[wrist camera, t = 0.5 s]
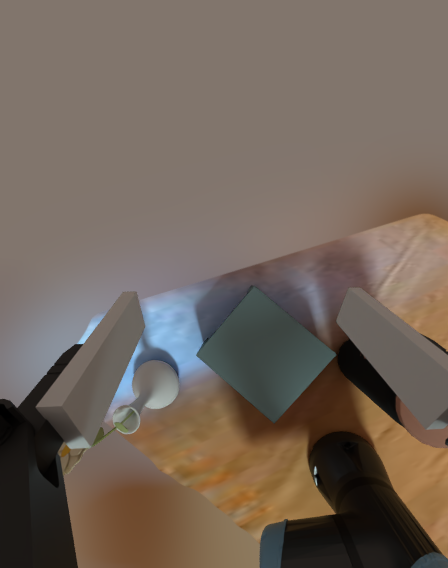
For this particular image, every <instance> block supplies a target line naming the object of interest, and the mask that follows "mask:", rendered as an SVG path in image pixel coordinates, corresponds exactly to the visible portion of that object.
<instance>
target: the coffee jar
mask: <svg viewBox="0 0 448 568" xmlns="http://www.w3.org/2000/svg"><path fill="white" fill-rule="evenodd" d="M338 364H339V367H340V370H341V371H342V373H343V374H344V375H345V377H346V378H348V379H349V380H350V381H351V382H352V383H353V384H354V385H355V386H356V387H358V388H359V389H360V390H361V391H362V392H363V393H364V394H365V395H367V396H368V397H369V398H370V399H371V400H372V401H373V402H374V403H376V404H377V405H378V406H379V407H380V408H381V409H382V410H383V411H385V412H386V413H387V414H388V415H389V416H390V417H391V418H392V419H394V420H395V421H396V422H397V423H399V424H400V425H401V426H403V427H404V428H405V429H406V430H407V431H408V432H409V433H410V434H411V435H412V436H413V437H415V438H416V439H417V440H419V441H420V442H422V443H424V444H427V445H430V446H432V447H435V448H448V446H447V445H445V440H446V439H447V438H448V425H447V426H446V427H445V428H444V429H429V430H425V428H424V427H423V426H422V425H421V424H420V422H419V421H418V420H417V419H416V418H415V416H414V415H413V414H412V413H411V412H410V410H409V409H408V408H407V407H406V406H405V404H404V403H403V402H402V401H401V399H400V398H399V397H398V396H397V395H396V393H395V392H394V391H393V390H392V389H391V387H390V386H389V385H388V384H387V383H386V381H385V380H384V379H383V378H382V377H381V375H380V374H379V373H378V372H377V371H376V369H375V368H374V367H373V366H372V365H371V363H370V362H369V361H368V360H367V359H366V357H365V356H364V355H363V354H362V353H361V351H360V350H359V349H358V348H357V347H356V345H355V344H354V343H353V342H352V341H351V339H349V340H348V341H346V342H345V343H344V344H343V345H342V347H341V348H340V351H339V354H338Z"/></svg>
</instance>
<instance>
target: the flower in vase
mask: <svg viewBox="0 0 448 568" xmlns="http://www.w3.org/2000/svg"><path fill="white" fill-rule="evenodd" d="M132 388H133V393H134V395H135V397H136V398H137V399H136V400H135V401H134V402H132V403H131V404H130V405H124V406H121V407H119V408H117V409H116V410H115V412H114V414H113V424H114V426H115V428H114V429H112V430H111V431H110V432H108V433H107V434H106V435H105V436H103V435H104V431H103V428H102V427H100V429H99V431H98V434H97V436H96V438H95V440H94V443H93V445H92V447H93V446H95V445H96V444H97V443H99V442H100V441H101V440H103V439H104V438H105V437H106V436H108V435H109V434H110V433H112V432H113V431H114V430H116V429H117V430H118V431H119V432H121V433H124V434H131V433H133V432H135V431H136V430H137V429H138V427H139V425H140V414H141V411H142V410H143V408H144V407H145V406H146V407H148V408H152V409H159V408H163V407H165V406H167V405H169V404H170V403H172V402H173V401H174V399H175V398H176V396H177V394H178V392H179V378H178V375H177V373H176V372H175V370H174V369H173V368H172V367H171V366H170V365H169V364H167V363H166V362H163V361H160V360H150V361H147V362H145V363H143V364H142V365H140V366H139V367H138V369H137V370H136V372H135V374H134V377H133V381H132ZM87 449H89V448H77V449H70V448H69V447H68V446H67V445H66V444H65V442H63V444H62V446H61V447H60V449H59V451H58V454H59V456H60V459H61V466H62V472H63V477H64V475H65V473H66V474H68V473H70V472H71V470H72V469H73V467H74V466H75V464H76V463H78V462H79V461H80V460H81V458H82V456H83V453H84V452H85V451H86V450H87Z"/></svg>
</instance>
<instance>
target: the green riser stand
mask: <svg viewBox="0 0 448 568" xmlns="http://www.w3.org/2000/svg"><path fill="white" fill-rule="evenodd" d="M248 291H249V293H248V294H247V295H246V296H245V297H244V298H243V300H242V301H241V302H240V303H239V304H238V306H237V307H236V308H235V309H234V310H233V311H232V313H231V314H230V315H229V316H228V317H227V319H226V320H225V321H224V322H223V323H222V324H221V326H220V327H219V328H218V329H217V330H216V332H215V333H214V334H213V335H212V336H211V337H210V339H208V338H207V339H206V340H205V342H204V343H203V344H202V346H201V348H200V350H199V351H198V353H197V355H196V356H197V357H199V358H200V359H201V360H202V361H203V362H204V363H205V364H207V365H208V366H209V367H210V368H211V369H212V370H213V371H215V372H216V373H217V374H218V375H219V376H220V377H221V378H223V379H224V380H225V381H226V382H227V383H228V384H229V385H231V386H232V387H233V388H234V389H235V390H236V391H237V392H239V393H240V394H241V395H242V396H243V397H244V398H245V399H247V400H248V401H249V402H250V403H251V404H252V405H253V406H255V407H256V408H257V409H258V410H259V411H260V412H261V413H263V414H264V415H265V416H266V417H267V418H268V419H269V420H271V421H272V422H273V423H275V422H276V421H277V420H278V419H279V418H280V417H281V416H282V415H283V413H284V412H285V411H286V410H287V409H288V408H289V407H290V406H291V405H292V403H293V402H294V401H295V400H296V399H297V398H298V397H299V396H300V395H301V393H302V392H303V391H304V390H305V389H306V388H307V387H308V386H309V385H310V383H311V382H312V381H313V380H314V379H315V378H316V377H317V376H318V375H319V373H320V372H321V371H322V370H323V369H324V368H325V367H326V366H327V365H328V363H329V362H330V361H331V360H332V359H333V358H334V357H335V356H336V355H337V354H336V353H335V352H333V351H332V350H331V349H330V348H328V347H327V346H326V345H325V344H324V343H322V342H321V341H320V340H319V339H318V338H316V337H315V336H314V335H313V334H312V333H310V332H309V331H308V330H307V329H306V328H304V327H303V326H302V325H301V324H300V323H298V322H297V321H296V320H295V319H294V318H292V317H291V316H290V315H289V314H288V313H286V312H285V311H284V310H283V309H282V308H280V307H279V306H278V305H277V304H275V303H274V302H273V301H272V300H271V299H269V298H268V297H267V296H266V295H265V294H263V293H262V292H261V291H260V290H259V289H257V288H256V287H255V286H251V287H250V288H249V290H248Z"/></svg>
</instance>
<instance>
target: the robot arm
mask: <svg viewBox="0 0 448 568" xmlns="http://www.w3.org/2000/svg"><path fill="white" fill-rule="evenodd" d="M336 322H337V324H338V325H339V326H340V327H341V329H342V330H343V331H344V332H345V333H346V335H347V336H348V337H349V338H350V339H351V341H352V342H353V343H354V344H355V345H356V347H357V348H358V349H359V350H360V351H361V353H362V354H363V355H364V356H365V357H366V359H367V360H368V361H369V362H370V363H371V365H372V366H373V367H374V368H375V369H376V371H377V372H378V373H379V374H380V375H381V377H382V378H383V379H384V380H385V381H386V383H387V384H388V385H389V386H390V387H391V389H392V390H393V391H394V392H395V393H396V395H397V396H398V397H399V398H400V399H401V401H402V402H403V403H404V404H405V406H406V407H407V408H408V409H409V410H410V412H411V413H412V414H413V415H414V416H415V418H416V419H417V420H418V421H419V422H420V424H421V425H422V426H423V427H424V428H425V430H429V429H444V428H445V427H446V426H447V425H448V352H446V349H444V348H443V347H442V346H440V345H439V344H438V343H436V342H435V341H433V340H432V339H430V338H428V337H426V336H424V335H422V334H420V333H419V332H417V331H416V330H415V329H413V328H412V327H411V326H409V325H408V324H407V323H406V322H404V321H403V320H402V319H400V318H399V317H398V316H396V315H395V314H394V313H393V312H391V311H390V310H389V309H387V308H386V307H385V306H383V305H382V304H381V303H380V302H378V301H377V300H376V299H374V298H373V297H372V296H371V295H369V294H368V293H367V292H365V291H364V290H363V289H361V288H360V287H358V288H348V290H347V293H346V295H345V298H344V301H343V303H342V306H341V309H340V312H339V314H338V317H337V320H336ZM144 328H145V324H144V320H143V316H142V312H141V308H140V304H139V300H138V296H137V292H123V293H122V294H121V296H120V297H119V298H118V300H117V301H116V302H115V303H114V305H113V306H112V308H111V309H110V310H109V311H108V313H107V314H106V315H105V317H104V318H103V319H102V321H101V322H100V323H99V324H98V326H97V327H96V328H95V330H94V331H93V332H92V334H91V335H90V336H89V338H88V339H87V340H86V341H85V343H84V344H75V345H74V346H72V347H71V348H70V349H68V350H67V351H66V352H65V353H63V354H62V355H61V357H60V358H59V359H58V360H57V361H56V363H55V364H54V366H52V367H51V369H50V370H49V371H48V372H47V375H45V376H44V377H43V378H42V379H41V381H40V382H39V383H38V384H37V385H36V387H35V388H34V389H33V390H32V391H31V392H30V394H29V395H28V396H27V397H26V398H25V400H24V401H23V402H22V403H21V404H20V406H19V407H18V408H16V407H15V405H14V404H13V403H12V402H11V401H9V400H6V399H0V568H78V566H77V559H76V553H75V547H74V540H73V535H72V528H71V522H70V516H69V509H68V504H67V497H66V491H65V484H64V478H63V472H62V466H61V459H60V456H59V454H58V451H59V449H60V447H61V446H62V444H63V442H65V444H66V445H67V446H68V447H69V448H70V449H77V448H91V447H92V445H93V443H94V440H95V438H96V436H97V434H98V431H99V429H100V427H101V424H102V422H103V420H104V418H105V416H106V413H107V411H108V409H109V407H110V404H111V402H112V400H113V398H114V395H115V393H116V391H117V389H118V387H119V384H120V382H121V380H122V378H123V375H124V373H125V371H126V369H127V366H128V364H129V362H130V360H131V357H132V355H133V353H134V351H135V348H136V346H137V344H138V342H139V339H140V337H141V335H142V333H143V330H144ZM445 445H447V446H448V438H447V439H446V440H445ZM309 466H310V471H311V474H312V477H313V480H314V482H315V485H316V487H317V488H318V490H319V492H320V493H321V494H322V496H323V497H324V498H325V500H326V501H327V502H328V504H329V505H330V506H331V508H332V509H333V510H334V512H335V513H336V514H334V515H326V516H320V517H312V518H305V519H297V520H289V521H288V519H285V520H284V521H282V522H278V523H274V524H269V525H267V526H266V527H265V528H264V530H263V532H262V536H261V542H260V568H448V559H447V558H446V557H445V556H444V555H443V554H442V553H441V551H440V550H439V549H438V548H437V546H436V545H435V544H434V542H433V541H432V540H431V538H430V537H429V536H428V534H427V533H426V532H425V530H424V529H423V528H422V526H421V525H420V524H419V522H418V521H417V520H416V518H415V517H414V516H413V514H412V513H411V512H410V510H409V509H408V508H407V506H406V505H405V504H404V503H403V501H402V500H401V499H400V497H399V496H398V495H397V493H396V492H395V490H394V489H393V487H392V484H391V482H390V479H389V477H388V474H387V472H386V470H385V467H384V465H383V462H382V460H381V459H380V457H379V455H378V454H377V453H376V452H375V450H374V449H373V448H372V447H371V445H370V444H369V443H368V442H367V441H366V440H364V439H363V438H361V437H360V436H358V435H355V434H353V433H349V432H335V433H331V434H328V435H326V436H324V437H323V438H321V439H320V440H319V441H318V442H317V443H316V444H315V446H314V447H313V449H312V451H311V454H310V459H309Z"/></svg>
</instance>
